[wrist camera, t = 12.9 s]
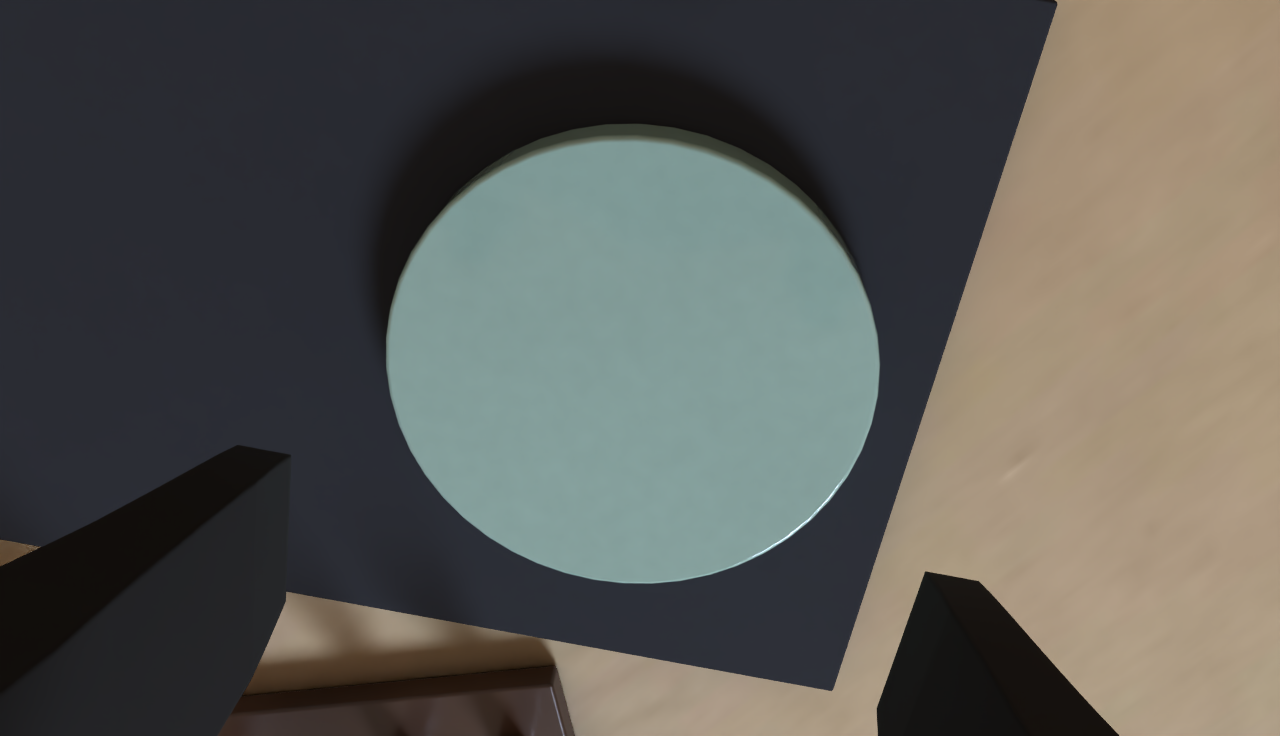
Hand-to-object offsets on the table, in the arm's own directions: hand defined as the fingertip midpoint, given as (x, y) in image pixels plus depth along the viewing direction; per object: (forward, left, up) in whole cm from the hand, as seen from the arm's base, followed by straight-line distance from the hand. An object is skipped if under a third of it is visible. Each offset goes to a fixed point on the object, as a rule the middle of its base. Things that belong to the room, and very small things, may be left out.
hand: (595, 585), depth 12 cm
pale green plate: (0, 0, -6) cm, 6 cm away
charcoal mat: (-5, 0, -7) cm, 9 cm away
